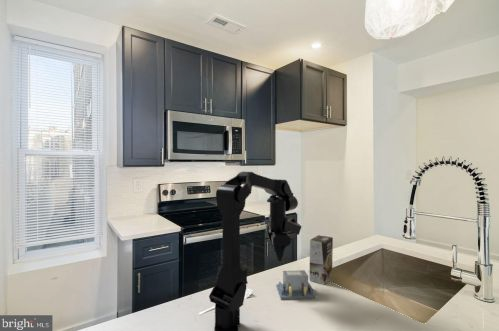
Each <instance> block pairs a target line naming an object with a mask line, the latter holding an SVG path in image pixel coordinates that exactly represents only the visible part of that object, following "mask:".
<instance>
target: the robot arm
mask: <svg viewBox="0 0 499 331" xmlns="http://www.w3.org/2000/svg"><path fill="white" fill-rule="evenodd" d="M253 187H255V188H259V189H262V190H264V191H265V193H267V194H269V195H270V196H269V198H267V200H266V203H269V215H268V219H269V222H268V223H267V224H265V227H266V228H265V230H266V234H267V237H268V239H269V242H270V245H271V248H272V251H273V252H274V253H275V256H276V259H277V261H278V262H282V260H283V256H284V253H285V249H286V247H288V246H290V245H292V237H291V236H290V234H289V232H291V233H294V234H295V235H300V232H301V230H302V226H303V225H301V224H299V223H298V222H297V220H296V219H295V218H293V217H290V218H289V219H288V217H286V215H287V214H286V212H289V211H294V210H295V209H297V207H298V205H299V201H298V199H297V197H296V196H295V195H294V192H293V191H292V190H291V187H290V184H289V182H288V180H286V179H276V178H275V179H274V178H269V177H267V176H263V175H261V174H257V173H255V172H253V171H240V172H238V173H237V175H235V176H234V177H232V178H230V179H228V180H226V181H225V182H224V183H223V184H221V185H219V186H218V188H217V189H216V191H215V198H216V207H217V208H218V211H219V212H220V214H221V217H222V266H221V268H220V269H219V271H218V273H217V277H216V282H215V284H214V286H213V287H212V290H211V292H210V294H209V295H208V297H209V301H210V302H211V303H213V304H215V305H214V306H215V309H214V329H213V330H214V331H239V326H240V324H241V322H240V321H241V316H240V315H241V310H240V308H241V307H242V306H243V305H244V302H245V299H244V298H245V292H246V290H247V285H248V278H247V277H248V271H247V269H245V268H243V267H242V266H241V258H240V257H241V245H240V244H241V240H240V239H241V238H240V237H241V235H240V234H241V230H240V228H241V225H240V224H241V222H240V219H241V218H240V217H241V214H242V212H244V209H245V206H246V200H247V199H248V197H249V196H250V195H251V194H252V191H253V190H252V188H253Z"/></svg>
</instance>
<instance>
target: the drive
mask: <svg viewBox="0 0 499 331" xmlns="http://www.w3.org/2000/svg"><path fill="white" fill-rule="evenodd" d="M308 282H309V274H308V273H307V272H306V271H305V270H303V269H302V270H300V269H299V270H283V271H282V284H283V289H284V291H285V294H289V286H292V293H304V286H307V293H308Z"/></svg>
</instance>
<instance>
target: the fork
mask: <svg viewBox="0 0 499 331" xmlns="http://www.w3.org/2000/svg"><path fill="white" fill-rule="evenodd" d="M253 291H254V290H252V289H250V288H249V287H248V288H246V292H245V297H244V300H247V299H248V298H249V297H250V296H251V295H252V293H253ZM212 310H215V305H213V306H212V307H210V308H208V309H206V310H203V311H201V312H199V313H198V314H199V315H202V314H205V313H208V312H210V311H212Z"/></svg>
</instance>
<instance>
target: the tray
mask: <svg viewBox="0 0 499 331" xmlns="http://www.w3.org/2000/svg"><path fill="white" fill-rule="evenodd" d="M275 286H276V290H277V291H278V292H277V293H278V296H279V298H280V300H305V299H307V300H308V299H309V300H310V299H314V300H315V299H316V298H317V296H316V295H315V292H314V289H313V286H311V284H310V282H309V281H308V293H307V286H304V293H292V286H289V294H285V291H284V289H283V283H282V282H281V281H278V283H277V284H276V285H275Z"/></svg>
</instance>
